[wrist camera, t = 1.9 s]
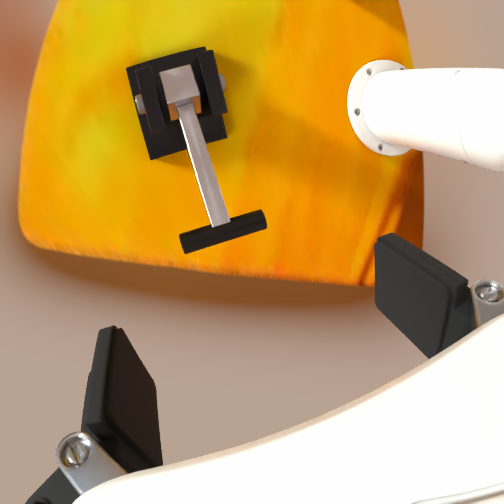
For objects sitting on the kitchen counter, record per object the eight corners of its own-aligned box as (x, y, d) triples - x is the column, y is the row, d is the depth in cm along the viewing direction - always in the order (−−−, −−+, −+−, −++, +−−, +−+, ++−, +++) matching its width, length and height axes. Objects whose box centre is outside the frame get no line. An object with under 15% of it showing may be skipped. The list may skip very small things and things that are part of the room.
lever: (263, 231, 20) (270, 225, 17) (186, 255, 19) (182, 252, 17) (210, 78, 20) (211, 58, 18) (144, 96, 20) (138, 78, 17)
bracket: (225, 137, 31) (259, 147, 20) (151, 159, 30) (141, 182, 19) (203, 48, 27) (226, 8, 16) (127, 69, 26) (103, 40, 15)
